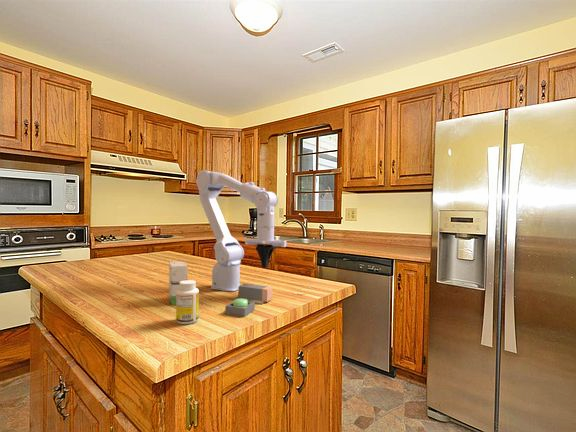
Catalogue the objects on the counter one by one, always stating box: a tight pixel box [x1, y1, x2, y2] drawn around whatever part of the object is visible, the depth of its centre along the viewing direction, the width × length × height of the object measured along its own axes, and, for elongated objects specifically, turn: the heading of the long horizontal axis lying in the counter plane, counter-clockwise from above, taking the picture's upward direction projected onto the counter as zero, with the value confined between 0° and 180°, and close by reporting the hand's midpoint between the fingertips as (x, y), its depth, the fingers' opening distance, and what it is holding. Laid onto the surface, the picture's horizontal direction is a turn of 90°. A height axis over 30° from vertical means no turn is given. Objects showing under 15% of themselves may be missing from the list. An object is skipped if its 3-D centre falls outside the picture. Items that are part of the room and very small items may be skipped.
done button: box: [232, 298, 248, 308], centre depth 87 cm, size 4×4×3 cm
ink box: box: [168, 261, 189, 306], centre depth 96 cm, size 9×5×12 cm, turn 26°
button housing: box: [224, 301, 256, 318], centre depth 87 cm, size 6×6×2 cm
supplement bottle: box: [175, 279, 200, 325], centre depth 79 cm, size 6×6×10 cm
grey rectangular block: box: [237, 283, 273, 303], centre depth 99 cm, size 10×4×4 cm, turn 69°
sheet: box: [239, 298, 266, 305], centre depth 99 cm, size 9×7×1 cm
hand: (265, 266), depth 104 cm, fingers closed
